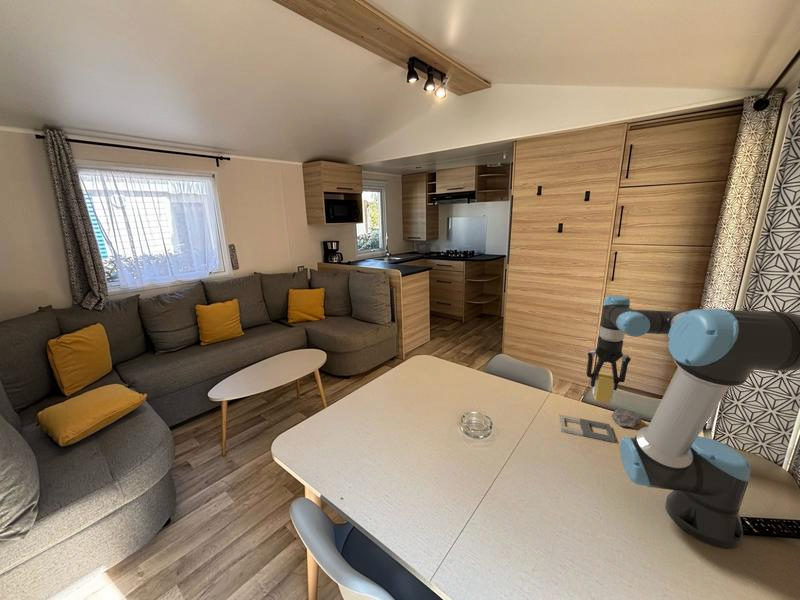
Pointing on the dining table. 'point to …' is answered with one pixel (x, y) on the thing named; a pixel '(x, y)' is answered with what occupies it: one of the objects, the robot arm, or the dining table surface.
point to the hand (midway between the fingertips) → (602, 395)
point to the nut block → (604, 388)
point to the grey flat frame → (586, 428)
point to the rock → (626, 418)
